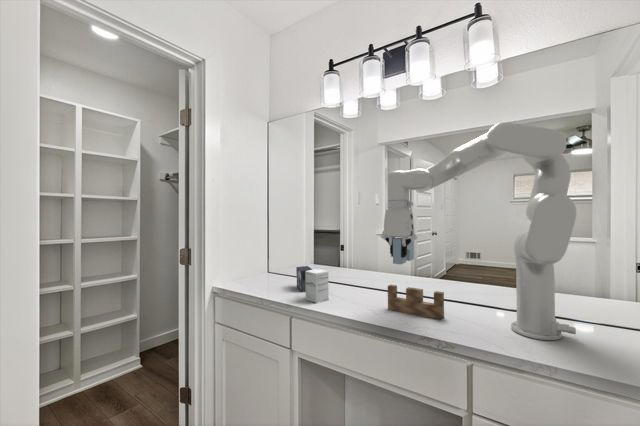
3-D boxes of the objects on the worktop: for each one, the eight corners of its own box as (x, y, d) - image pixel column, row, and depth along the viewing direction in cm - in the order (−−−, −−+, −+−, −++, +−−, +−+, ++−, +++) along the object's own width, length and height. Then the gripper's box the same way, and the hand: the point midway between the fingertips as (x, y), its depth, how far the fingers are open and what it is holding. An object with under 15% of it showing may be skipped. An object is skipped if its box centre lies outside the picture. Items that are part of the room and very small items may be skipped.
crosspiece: (414, 259, 115) (413, 236, 115) (401, 264, 104) (401, 239, 104) (406, 258, 117) (406, 235, 117) (392, 263, 105) (392, 238, 105)
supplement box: (305, 299, 127) (304, 270, 127) (317, 296, 132) (317, 268, 132) (316, 303, 121) (315, 273, 121) (329, 300, 126) (328, 270, 126)
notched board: (444, 317, 104) (443, 292, 104) (442, 319, 102) (441, 293, 102) (390, 307, 116) (390, 284, 115) (387, 309, 113) (387, 285, 113)
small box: (295, 287, 149) (295, 266, 149) (308, 286, 151) (308, 265, 151) (300, 292, 139) (300, 270, 139) (314, 291, 141) (313, 269, 141)
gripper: (424, 205, 104) (424, 257, 104) (381, 206, 113) (381, 253, 114) (417, 205, 98) (418, 260, 98) (373, 205, 107) (373, 256, 107)
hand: (398, 256), depth 106 cm, fingers closed on crosspiece, 3 cm apart
